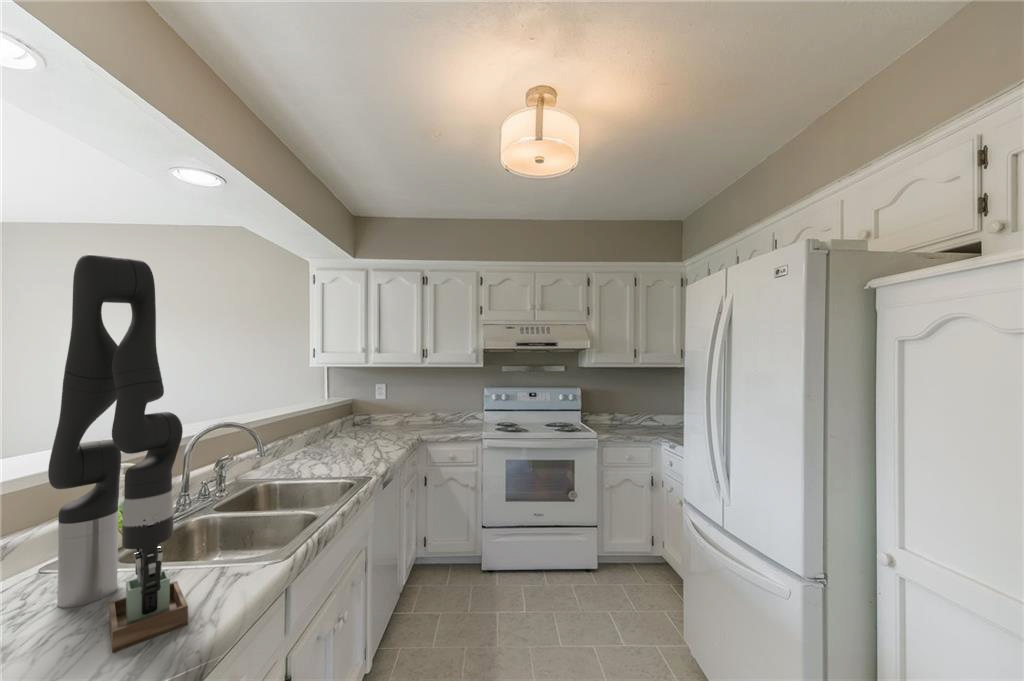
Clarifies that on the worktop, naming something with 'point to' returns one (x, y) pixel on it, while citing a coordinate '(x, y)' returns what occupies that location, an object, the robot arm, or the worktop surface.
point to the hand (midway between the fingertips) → (148, 606)
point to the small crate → (136, 598)
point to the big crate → (146, 621)
